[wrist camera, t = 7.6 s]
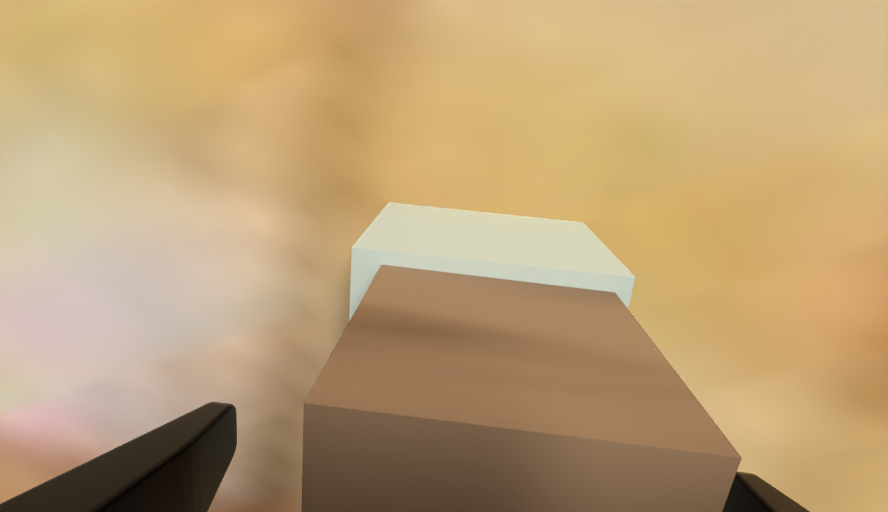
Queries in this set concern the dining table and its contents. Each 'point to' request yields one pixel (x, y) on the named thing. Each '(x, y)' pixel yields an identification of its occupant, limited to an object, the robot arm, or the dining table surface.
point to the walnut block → (504, 406)
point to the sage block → (486, 249)
